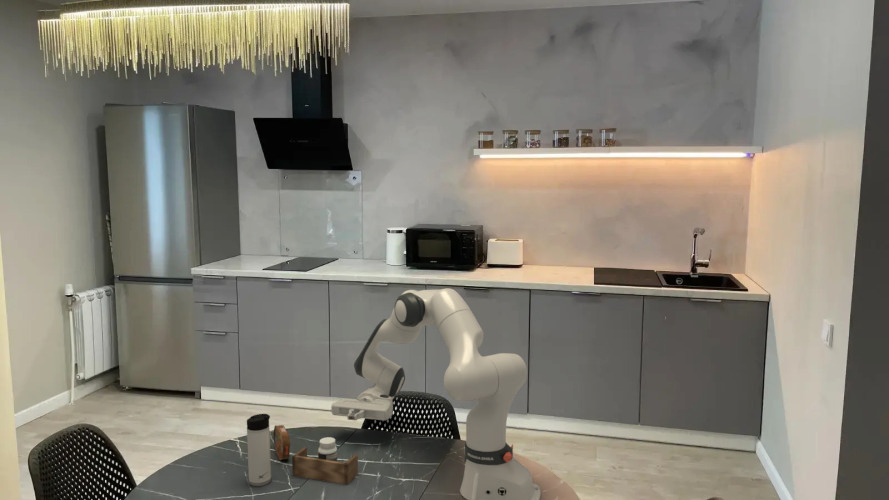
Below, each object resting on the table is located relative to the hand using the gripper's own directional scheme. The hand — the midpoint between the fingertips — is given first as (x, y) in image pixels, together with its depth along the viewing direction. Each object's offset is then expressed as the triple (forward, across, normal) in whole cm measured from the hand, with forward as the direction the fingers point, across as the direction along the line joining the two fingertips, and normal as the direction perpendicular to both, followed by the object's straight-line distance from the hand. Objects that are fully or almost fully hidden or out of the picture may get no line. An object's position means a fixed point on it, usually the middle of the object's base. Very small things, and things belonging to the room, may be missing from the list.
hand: (351, 417), depth 205 cm
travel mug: (+27, -17, +12) cm, 33 cm away
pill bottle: (+15, -1, +12) cm, 19 cm away
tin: (+9, -21, +11) cm, 25 cm away
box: (+17, -1, +11) cm, 20 cm away
